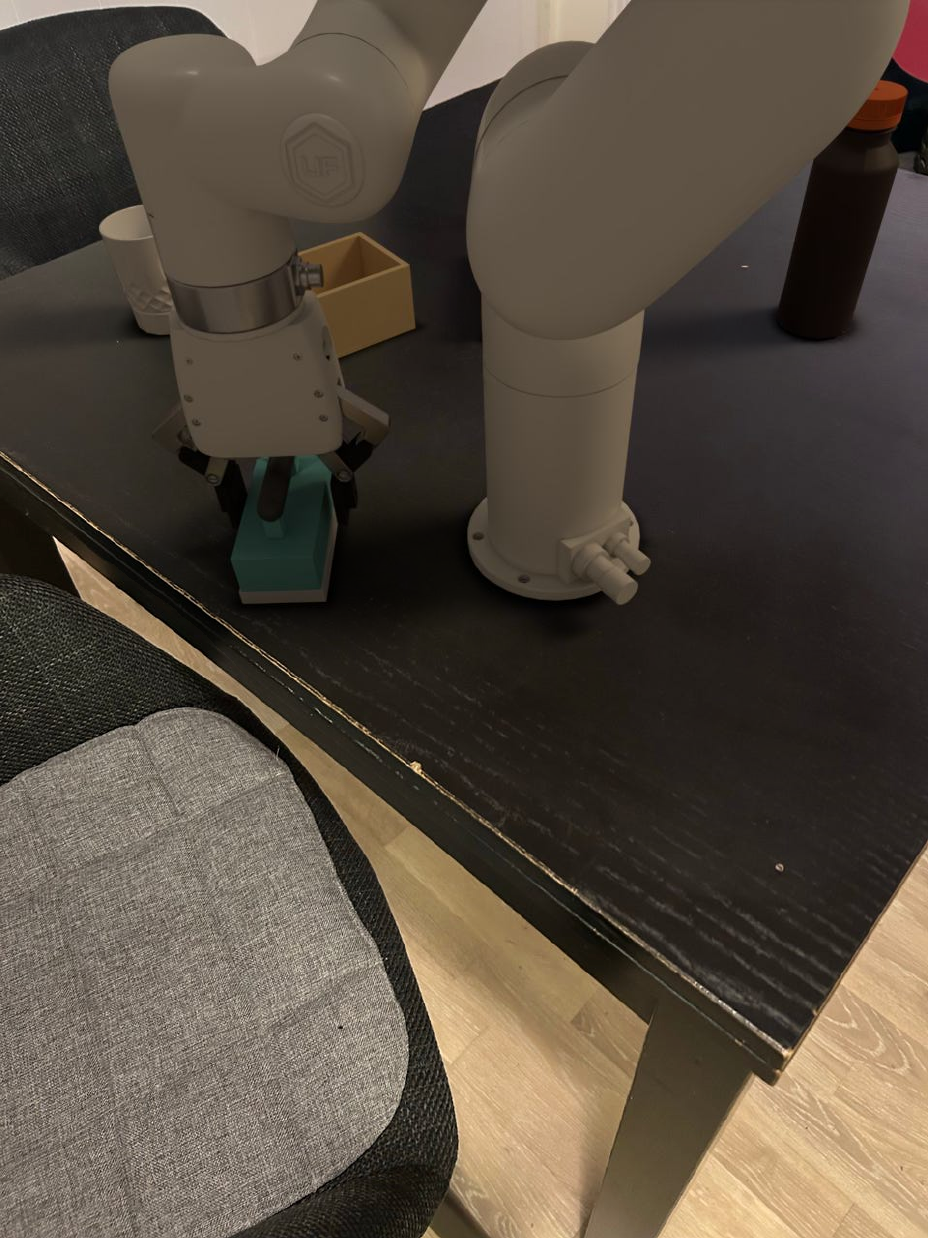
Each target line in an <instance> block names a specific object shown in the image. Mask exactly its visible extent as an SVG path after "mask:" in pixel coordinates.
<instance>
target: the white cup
mask: <svg viewBox="0 0 928 1238" xmlns="http://www.w3.org/2000/svg"><path fill="white" fill-rule="evenodd" d="M98 230H99V234H100V236H101V239H102V242H103V244H104V246H105V249H106V251H107V254H108V257H109V259H110V261H111V264H112V266H113V269H114V272H115V274H116V276H117V280H118V281H119V283H120V285H121V288H122V290H123V293H124V295H125V297H126V300H127V301H128V303H129V305H130V307H131V310H132V312H133V315H134V318H135V320H136V323H137V324H138V328H140V329H141V330H143V331H144V332H145V333H147V334H152V335H157V336H168V335H170V327H169V316H170V313H171V308H172V305H173V304H174V302H173V299H172V296H171V293H170V289H169V286H168V283H167V280H166V277H165V273H164V270H163V267H162V264H161V261H160V257H159V254H158V251H157V248H156V245H155V241H154V238H153V235H152V232H151V229H150V225H149V222H148V219H147V216H146V212H145V209H144V206H143V204H137V205H132V206H128V207H125V208H122V209H120V210H117V211H114V212H113V213H111V214H109V215H108V216H106V217H105V218H104V219H103V220H102V221H101V222H100V224H99V226H98Z"/></svg>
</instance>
